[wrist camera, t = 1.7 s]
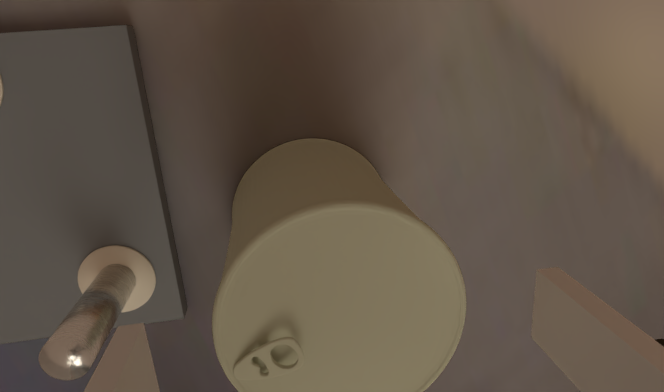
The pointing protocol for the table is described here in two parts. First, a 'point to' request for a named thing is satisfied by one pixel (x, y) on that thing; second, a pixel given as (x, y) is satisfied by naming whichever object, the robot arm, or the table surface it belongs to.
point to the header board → (79, 181)
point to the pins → (87, 324)
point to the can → (332, 280)
